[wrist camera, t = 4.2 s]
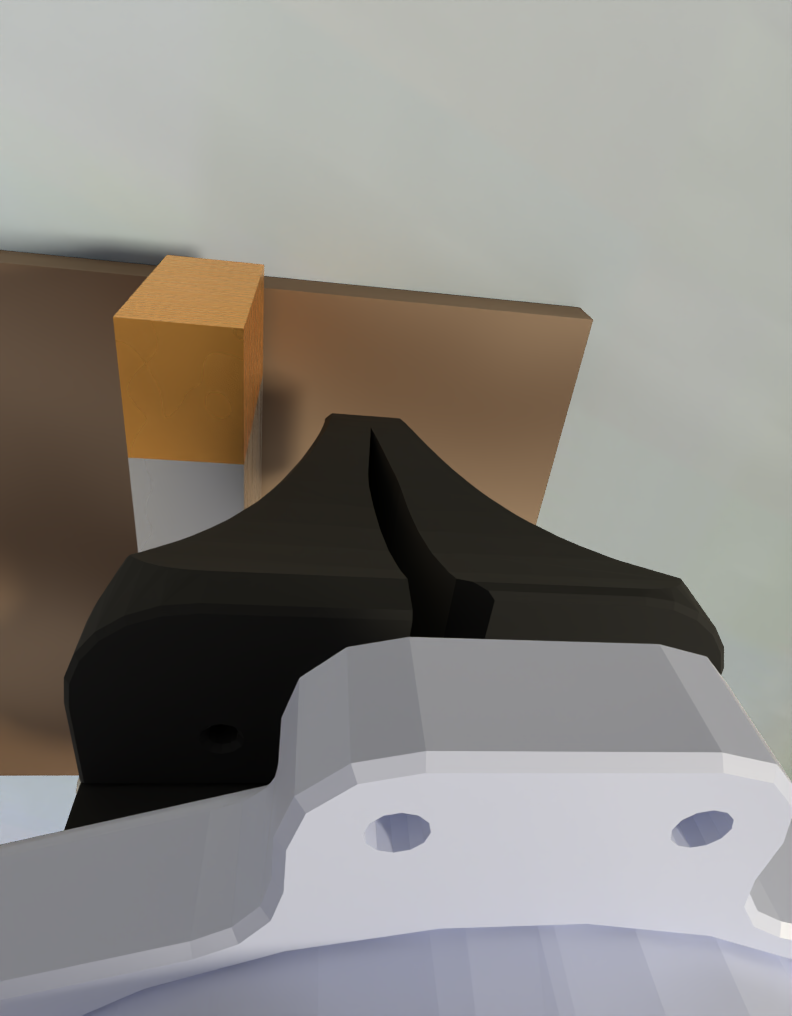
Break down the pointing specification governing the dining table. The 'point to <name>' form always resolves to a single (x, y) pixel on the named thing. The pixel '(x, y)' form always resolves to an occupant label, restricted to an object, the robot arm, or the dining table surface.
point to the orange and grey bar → (192, 395)
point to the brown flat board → (285, 433)
